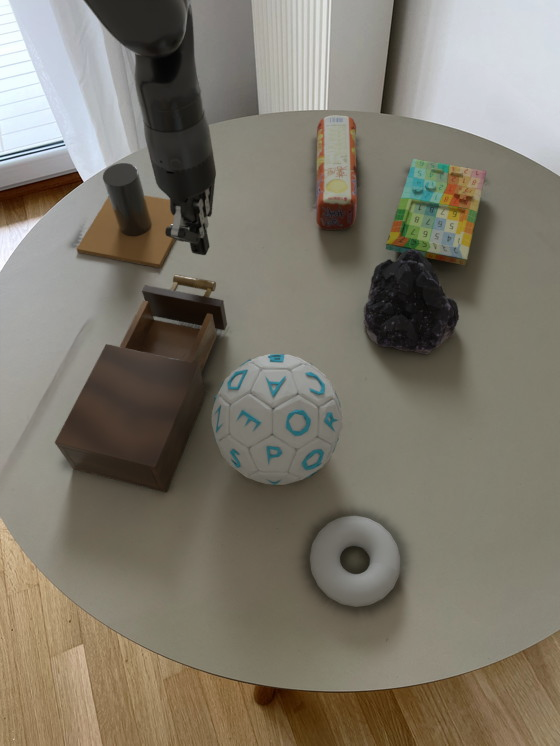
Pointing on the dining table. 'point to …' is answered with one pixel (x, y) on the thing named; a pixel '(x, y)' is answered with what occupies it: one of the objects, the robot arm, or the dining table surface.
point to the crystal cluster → (409, 305)
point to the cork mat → (135, 249)
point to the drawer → (181, 308)
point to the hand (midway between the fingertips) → (200, 250)
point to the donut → (343, 583)
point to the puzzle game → (437, 211)
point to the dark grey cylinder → (127, 199)
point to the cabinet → (133, 417)
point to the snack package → (336, 173)
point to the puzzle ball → (276, 419)
